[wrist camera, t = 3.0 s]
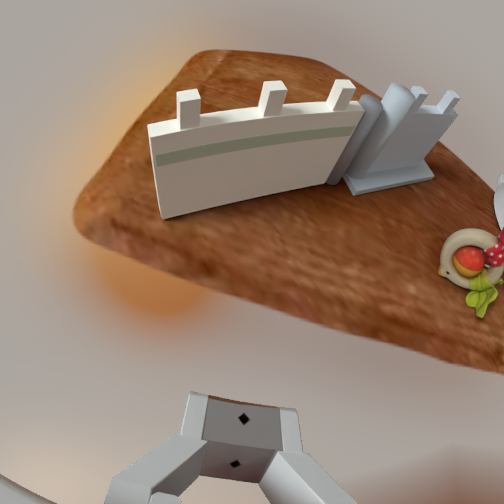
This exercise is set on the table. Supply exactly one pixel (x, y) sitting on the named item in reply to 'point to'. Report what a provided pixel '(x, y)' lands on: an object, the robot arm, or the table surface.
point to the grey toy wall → (400, 140)
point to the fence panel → (255, 147)
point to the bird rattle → (474, 265)
